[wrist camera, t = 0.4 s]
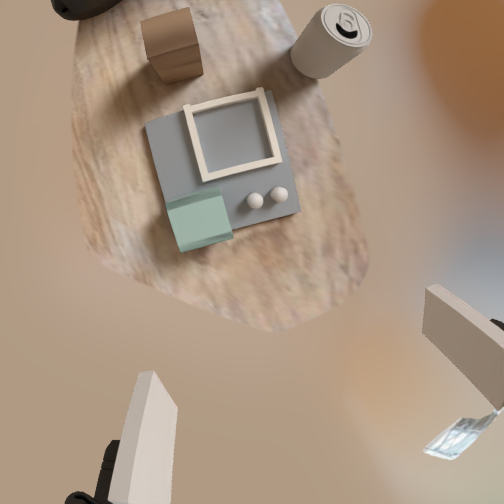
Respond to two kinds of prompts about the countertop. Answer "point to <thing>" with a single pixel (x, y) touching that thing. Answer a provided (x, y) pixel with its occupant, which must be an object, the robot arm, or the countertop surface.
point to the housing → (199, 219)
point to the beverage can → (331, 40)
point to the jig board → (227, 156)
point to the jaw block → (172, 46)
